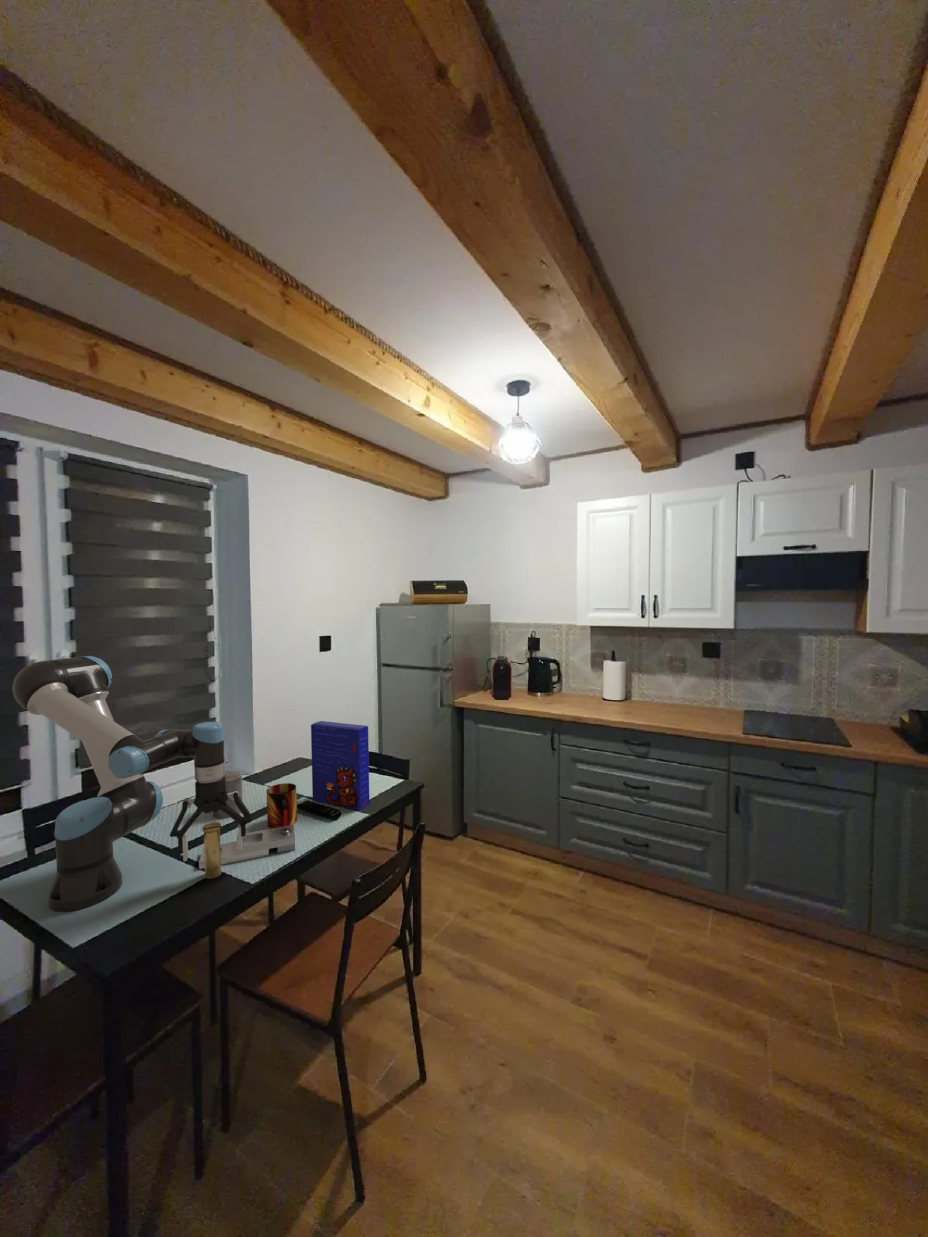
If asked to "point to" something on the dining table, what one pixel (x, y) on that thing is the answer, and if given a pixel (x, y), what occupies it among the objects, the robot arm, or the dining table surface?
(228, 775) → the pillar candle
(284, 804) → the mug
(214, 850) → the brass pin
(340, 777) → the cereal box
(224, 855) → the slotted metal plate
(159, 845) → the dining table surface
